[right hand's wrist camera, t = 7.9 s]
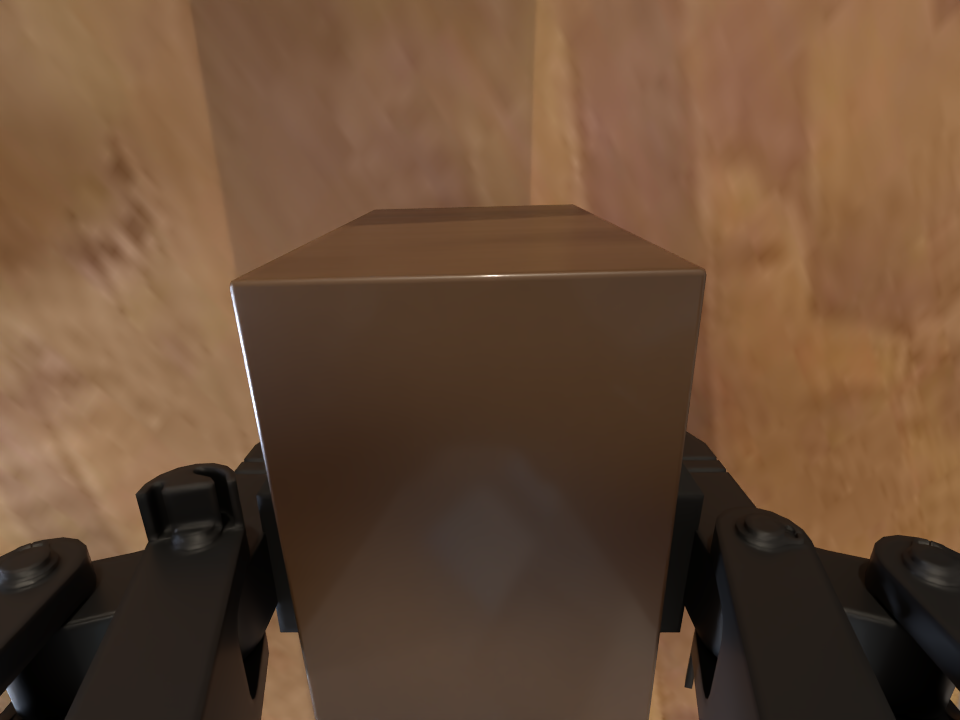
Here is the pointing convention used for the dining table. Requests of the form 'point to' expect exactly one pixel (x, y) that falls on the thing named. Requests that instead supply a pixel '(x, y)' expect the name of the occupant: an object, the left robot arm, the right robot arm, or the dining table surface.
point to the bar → (474, 457)
